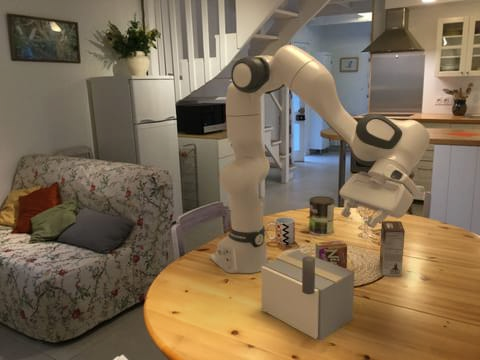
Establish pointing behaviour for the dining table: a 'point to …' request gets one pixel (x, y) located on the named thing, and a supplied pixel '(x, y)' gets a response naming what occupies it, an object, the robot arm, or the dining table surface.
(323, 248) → the candy box
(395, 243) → the coffee box
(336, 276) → the carton
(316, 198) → the coffee can
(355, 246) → the dining table surface
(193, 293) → the dining table surface
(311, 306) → the flap
